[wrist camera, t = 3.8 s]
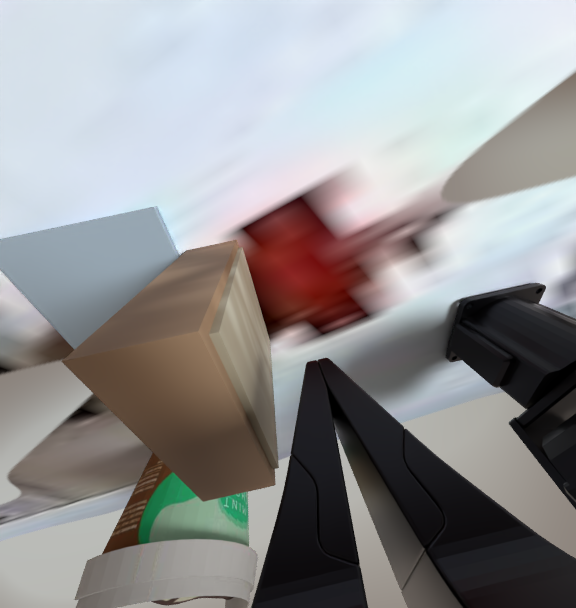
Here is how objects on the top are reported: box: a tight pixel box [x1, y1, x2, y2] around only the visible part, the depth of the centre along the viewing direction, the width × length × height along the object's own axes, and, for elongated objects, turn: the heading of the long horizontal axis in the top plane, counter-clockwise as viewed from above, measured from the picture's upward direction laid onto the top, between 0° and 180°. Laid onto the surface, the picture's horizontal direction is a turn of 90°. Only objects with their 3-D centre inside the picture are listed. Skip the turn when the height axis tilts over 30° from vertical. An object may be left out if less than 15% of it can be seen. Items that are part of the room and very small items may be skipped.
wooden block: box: [62, 240, 279, 502], centre depth 10 cm, size 3×8×9 cm, turn 11°
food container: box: [75, 453, 258, 608], centre depth 17 cm, size 12×6×10 cm, turn 37°
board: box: [0, 206, 180, 350], centre depth 14 cm, size 9×13×1 cm
